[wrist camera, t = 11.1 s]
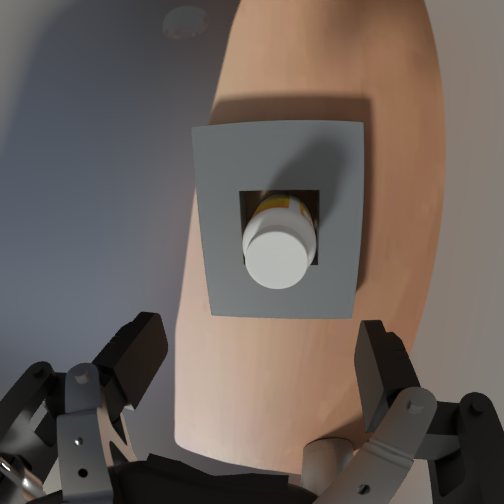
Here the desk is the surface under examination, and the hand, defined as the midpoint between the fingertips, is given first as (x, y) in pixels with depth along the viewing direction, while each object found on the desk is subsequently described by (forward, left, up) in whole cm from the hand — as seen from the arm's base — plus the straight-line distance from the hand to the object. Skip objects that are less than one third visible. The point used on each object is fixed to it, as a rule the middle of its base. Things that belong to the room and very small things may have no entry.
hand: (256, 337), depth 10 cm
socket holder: (0, 0, -17) cm, 17 cm away
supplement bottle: (0, 0, -17) cm, 17 cm away
